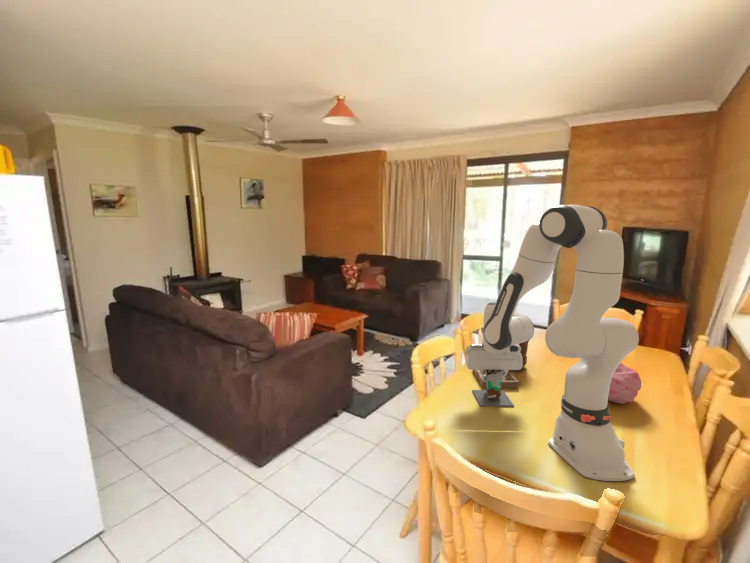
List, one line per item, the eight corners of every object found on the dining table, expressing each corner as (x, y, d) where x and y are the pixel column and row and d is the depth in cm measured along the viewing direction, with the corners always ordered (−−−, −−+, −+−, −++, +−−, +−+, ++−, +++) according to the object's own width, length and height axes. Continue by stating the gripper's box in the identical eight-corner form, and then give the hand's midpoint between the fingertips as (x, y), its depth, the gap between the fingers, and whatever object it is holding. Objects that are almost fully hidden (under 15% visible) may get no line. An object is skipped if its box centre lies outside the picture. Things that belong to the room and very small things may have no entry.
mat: (513, 406, 130) (514, 405, 130) (480, 406, 130) (480, 405, 130) (502, 391, 142) (502, 390, 142) (472, 391, 142) (472, 389, 142)
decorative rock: (597, 386, 146) (601, 351, 144) (641, 397, 137) (645, 360, 134) (587, 404, 132) (591, 365, 130) (635, 417, 123) (640, 376, 120)
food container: (506, 401, 129) (505, 375, 128) (488, 401, 131) (487, 375, 129) (501, 386, 141) (500, 361, 140) (485, 386, 142) (484, 362, 141)
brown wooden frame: (518, 388, 144) (518, 381, 144) (483, 388, 145) (483, 381, 144) (504, 371, 161) (504, 365, 161) (472, 371, 161) (472, 365, 161)
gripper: (468, 347, 130) (466, 383, 132) (525, 347, 129) (523, 383, 132) (464, 341, 136) (462, 376, 138) (519, 341, 136) (516, 376, 138)
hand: (492, 379), depth 135 cm, fingers closed on food container, 5 cm apart
